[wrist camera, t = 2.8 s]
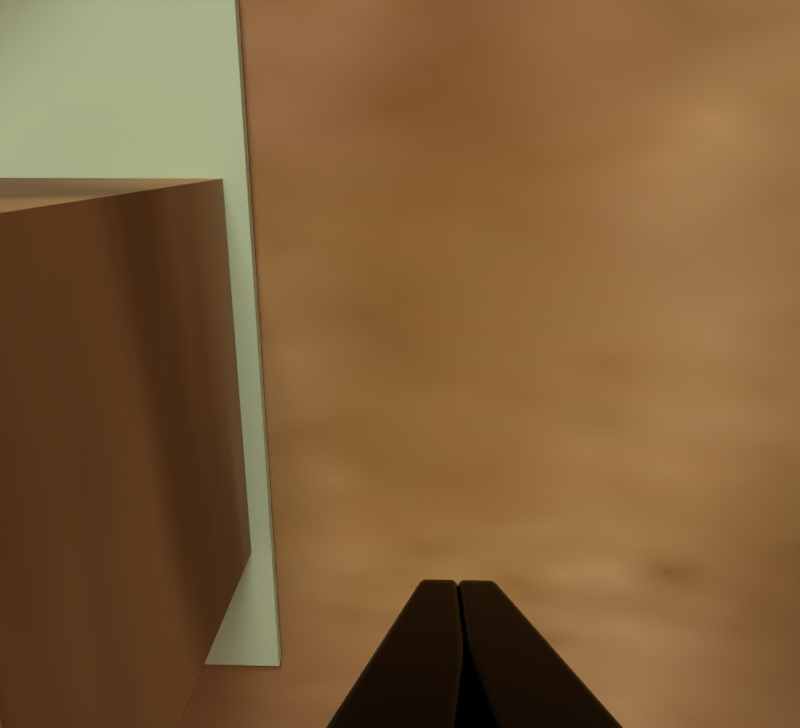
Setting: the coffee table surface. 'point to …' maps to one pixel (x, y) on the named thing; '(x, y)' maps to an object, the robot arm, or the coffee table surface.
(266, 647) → the mat
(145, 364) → the walnut block
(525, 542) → the coffee table surface
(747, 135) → the coffee table surface
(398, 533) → the coffee table surface
